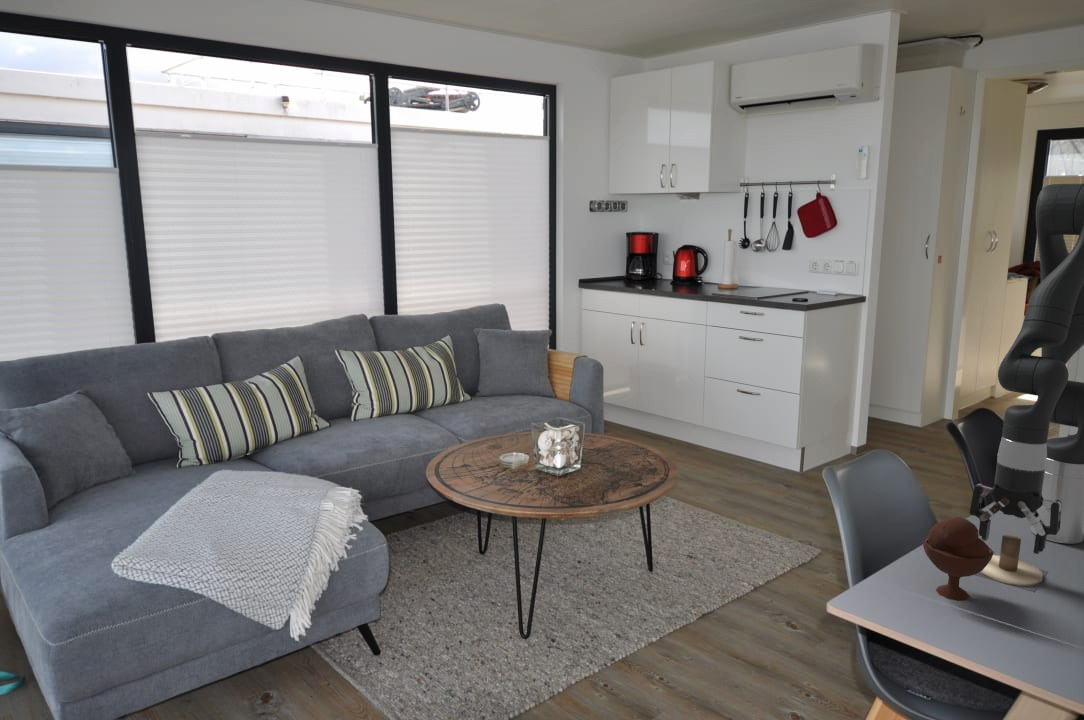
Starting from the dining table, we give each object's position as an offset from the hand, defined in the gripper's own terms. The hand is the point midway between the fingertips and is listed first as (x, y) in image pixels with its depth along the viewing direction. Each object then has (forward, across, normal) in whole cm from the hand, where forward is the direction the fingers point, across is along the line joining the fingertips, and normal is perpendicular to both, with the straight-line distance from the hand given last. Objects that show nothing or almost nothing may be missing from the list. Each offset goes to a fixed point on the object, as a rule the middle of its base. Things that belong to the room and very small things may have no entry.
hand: (1010, 545), depth 143 cm
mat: (+6, 0, -1) cm, 6 cm away
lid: (+6, 0, -1) cm, 6 cm away
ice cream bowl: (+6, +5, +15) cm, 17 cm away
